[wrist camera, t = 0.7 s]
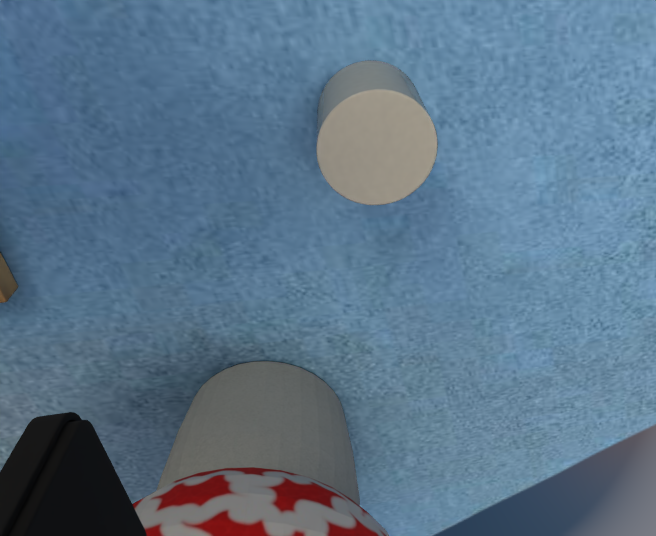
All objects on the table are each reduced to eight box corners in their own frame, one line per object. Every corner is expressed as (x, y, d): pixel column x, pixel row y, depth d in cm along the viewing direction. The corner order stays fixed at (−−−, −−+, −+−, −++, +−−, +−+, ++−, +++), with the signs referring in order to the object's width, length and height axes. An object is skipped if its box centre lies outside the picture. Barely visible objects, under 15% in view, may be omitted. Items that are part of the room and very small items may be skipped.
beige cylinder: (308, 71, 28) (305, 102, 23) (414, 50, 27) (432, 78, 23) (327, 169, 30) (328, 214, 26) (425, 152, 30) (442, 195, 25)
